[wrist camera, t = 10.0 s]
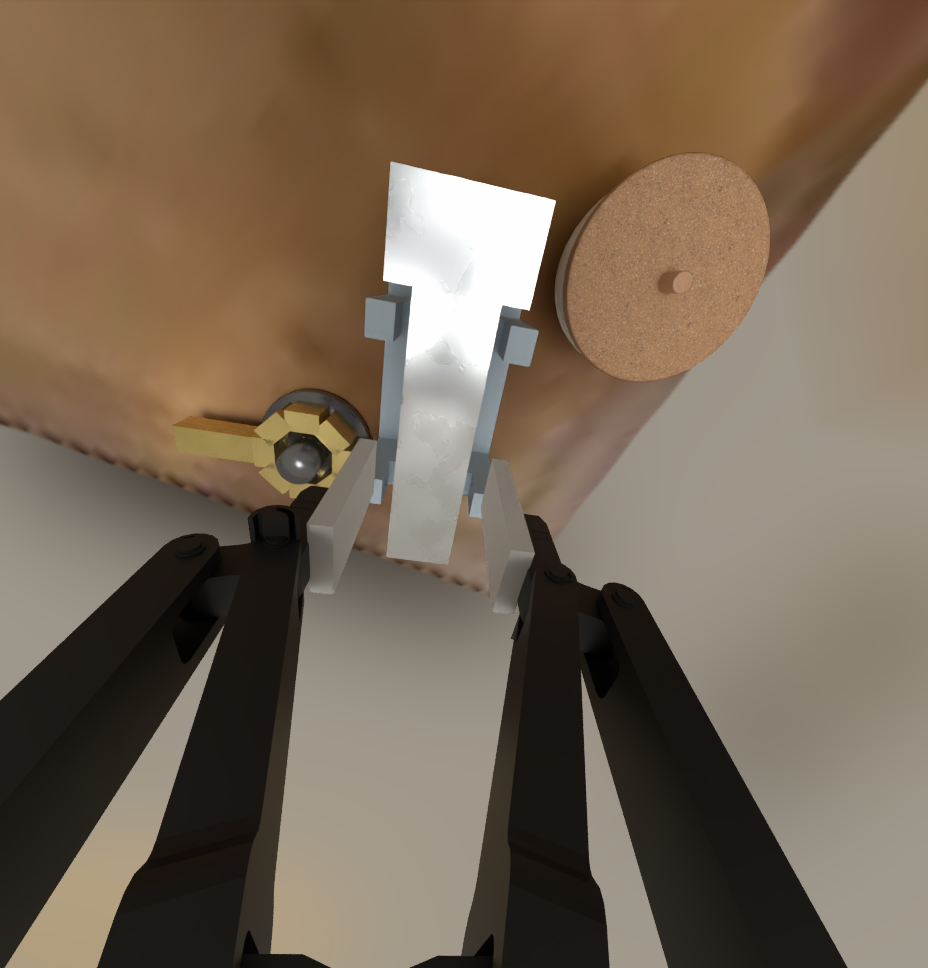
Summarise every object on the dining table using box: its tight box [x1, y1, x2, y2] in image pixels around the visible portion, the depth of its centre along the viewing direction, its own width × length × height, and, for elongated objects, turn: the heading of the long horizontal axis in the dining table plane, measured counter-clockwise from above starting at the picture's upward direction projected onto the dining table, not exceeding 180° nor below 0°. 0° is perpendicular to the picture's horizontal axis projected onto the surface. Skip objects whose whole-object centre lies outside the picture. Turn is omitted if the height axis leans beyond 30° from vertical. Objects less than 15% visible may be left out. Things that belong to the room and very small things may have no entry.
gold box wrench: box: [172, 400, 359, 498], centre depth 29 cm, size 13×8×3 cm, turn 80°
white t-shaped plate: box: [383, 162, 556, 565], centre depth 23 cm, size 21×7×5 cm, turn 170°
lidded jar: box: [555, 152, 770, 382], centre depth 22 cm, size 11×11×9 cm
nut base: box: [262, 389, 371, 485], centre depth 29 cm, size 9×9×6 cm
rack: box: [364, 282, 539, 518], centre depth 26 cm, size 15×10×8 cm, turn 170°
